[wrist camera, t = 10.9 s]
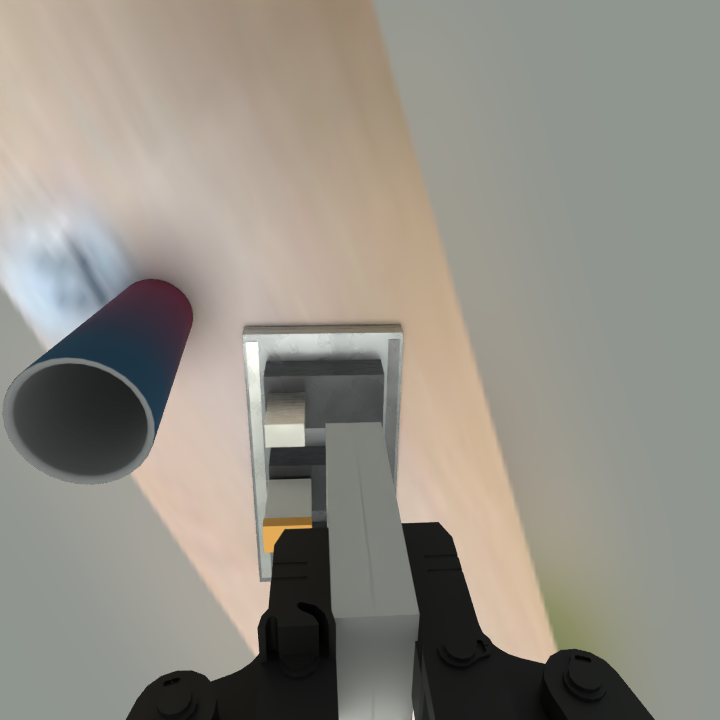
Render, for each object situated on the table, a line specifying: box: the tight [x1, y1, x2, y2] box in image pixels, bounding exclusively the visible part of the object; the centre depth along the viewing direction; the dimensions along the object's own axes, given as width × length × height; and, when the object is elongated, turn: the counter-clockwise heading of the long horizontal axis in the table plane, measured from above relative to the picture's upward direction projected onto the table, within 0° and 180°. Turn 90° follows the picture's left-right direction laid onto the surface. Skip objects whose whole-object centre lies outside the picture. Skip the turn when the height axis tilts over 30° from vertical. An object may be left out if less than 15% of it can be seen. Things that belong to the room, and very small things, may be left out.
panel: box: [243, 325, 403, 582], centre depth 44 cm, size 22×11×8 cm, turn 179°
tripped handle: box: [263, 479, 312, 553], centre depth 41 cm, size 2×3×5 cm
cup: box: [3, 279, 193, 484], centre depth 35 cm, size 7×7×15 cm
